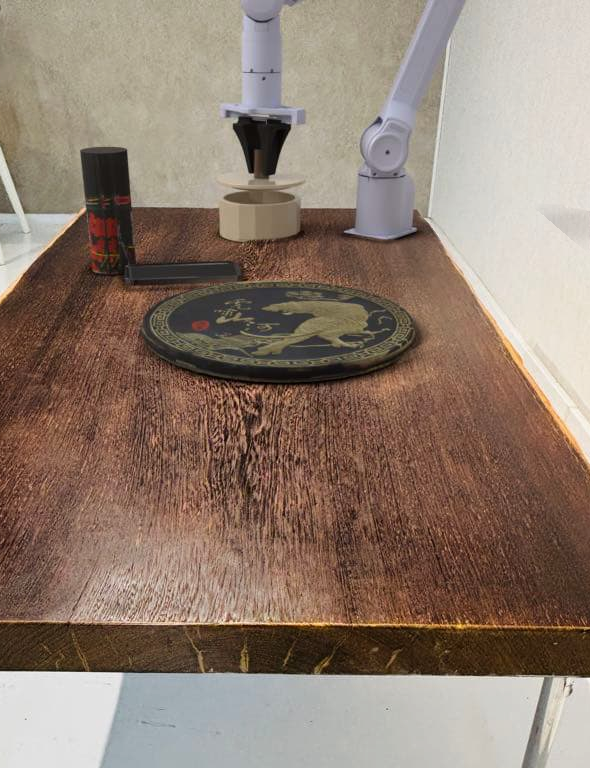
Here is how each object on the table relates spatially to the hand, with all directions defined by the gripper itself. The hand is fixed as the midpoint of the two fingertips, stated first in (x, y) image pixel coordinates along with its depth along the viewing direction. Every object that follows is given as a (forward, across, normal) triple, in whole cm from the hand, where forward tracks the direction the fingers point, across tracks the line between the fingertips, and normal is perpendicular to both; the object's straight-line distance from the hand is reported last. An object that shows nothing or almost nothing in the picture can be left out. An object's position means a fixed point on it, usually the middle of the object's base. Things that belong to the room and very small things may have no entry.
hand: (261, 173), depth 130 cm
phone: (+9, +8, -26) cm, 29 cm away
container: (+9, -1, 0) cm, 9 cm away
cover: (+1, 0, 0) cm, 1 cm away
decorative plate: (+9, +31, -36) cm, 48 cm away
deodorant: (+9, -3, -28) cm, 30 cm away
